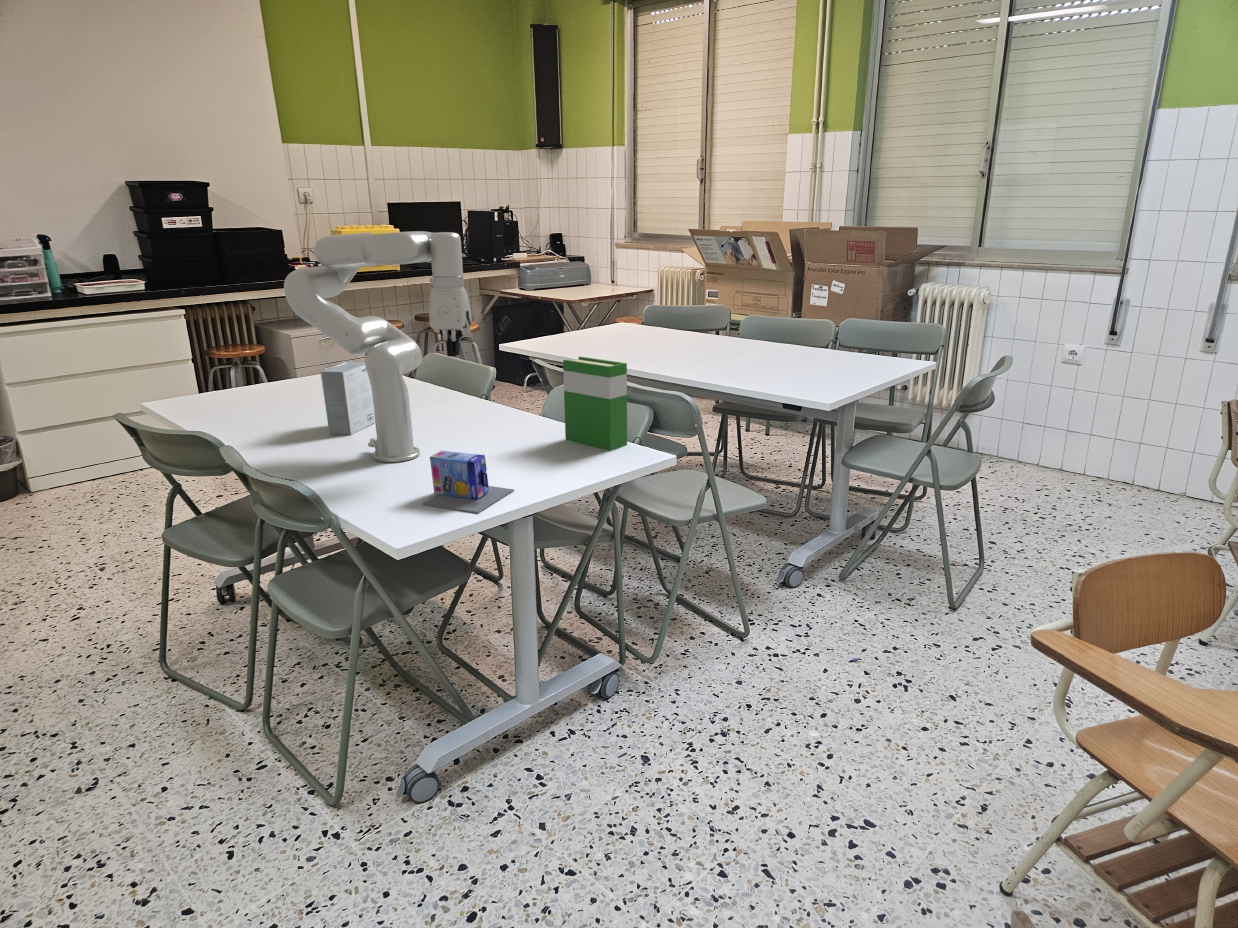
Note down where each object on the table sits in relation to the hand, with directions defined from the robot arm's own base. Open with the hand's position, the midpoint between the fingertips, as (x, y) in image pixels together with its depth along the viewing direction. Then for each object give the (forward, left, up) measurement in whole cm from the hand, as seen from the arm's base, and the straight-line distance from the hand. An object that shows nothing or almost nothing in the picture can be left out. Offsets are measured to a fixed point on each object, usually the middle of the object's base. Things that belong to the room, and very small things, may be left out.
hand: (453, 355), depth 197 cm
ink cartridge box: (+9, -23, -24) cm, 34 cm away
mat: (+18, -23, -29) cm, 41 cm away
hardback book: (+26, +31, -29) cm, 50 cm away
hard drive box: (-52, +17, -29) cm, 62 cm away
